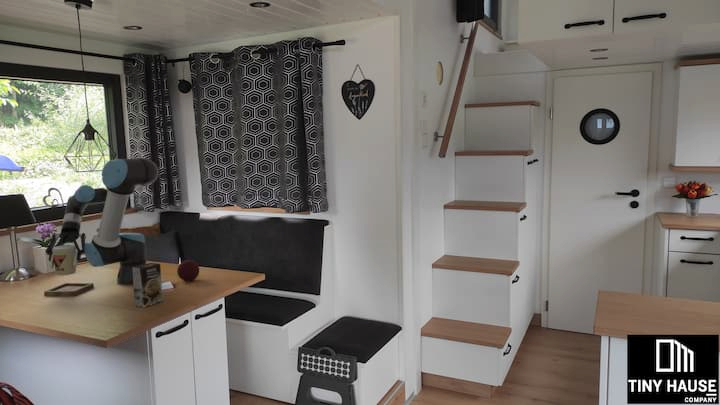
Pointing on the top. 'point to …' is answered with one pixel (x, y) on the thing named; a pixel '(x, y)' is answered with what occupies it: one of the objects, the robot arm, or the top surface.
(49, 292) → the coaster tray
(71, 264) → the coffee cup
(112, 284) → the top surface
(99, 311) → the top surface
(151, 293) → the coffee box
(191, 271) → the decorative ball
